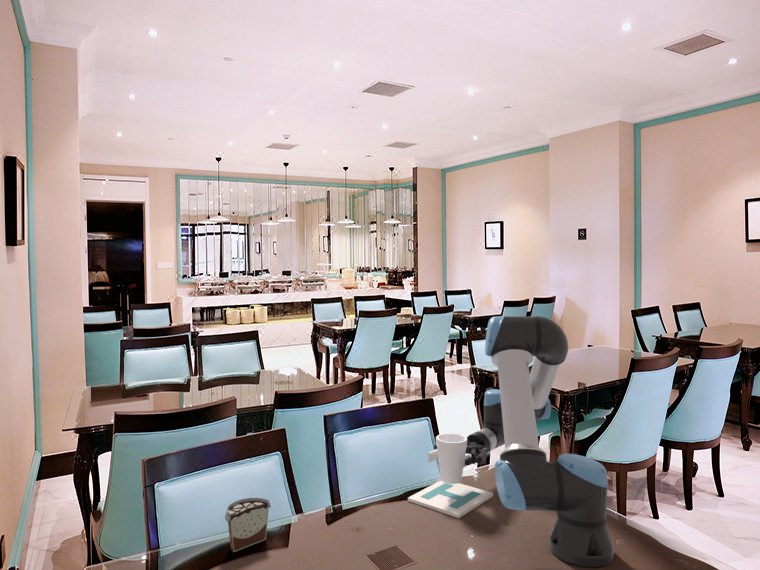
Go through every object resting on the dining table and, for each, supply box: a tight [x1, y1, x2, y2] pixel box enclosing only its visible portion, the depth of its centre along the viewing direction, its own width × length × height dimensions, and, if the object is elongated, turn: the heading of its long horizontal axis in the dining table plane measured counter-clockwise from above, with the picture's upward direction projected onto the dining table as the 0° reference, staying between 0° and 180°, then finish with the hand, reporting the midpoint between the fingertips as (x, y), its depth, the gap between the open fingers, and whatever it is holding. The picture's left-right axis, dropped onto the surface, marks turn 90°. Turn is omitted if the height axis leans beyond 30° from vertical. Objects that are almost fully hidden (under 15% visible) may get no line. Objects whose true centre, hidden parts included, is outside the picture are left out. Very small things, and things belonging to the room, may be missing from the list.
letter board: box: [407, 480, 494, 519], centre depth 171 cm, size 18×20×1 cm
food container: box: [224, 497, 272, 553], centre depth 143 cm, size 12×6×10 cm, turn 135°
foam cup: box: [435, 432, 467, 484], centre depth 171 cm, size 10×9×13 cm
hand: (443, 461), depth 167 cm, fingers closed on foam cup, 9 cm apart
